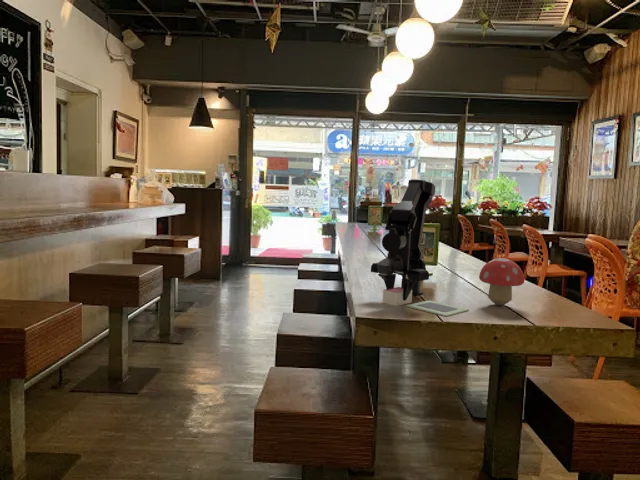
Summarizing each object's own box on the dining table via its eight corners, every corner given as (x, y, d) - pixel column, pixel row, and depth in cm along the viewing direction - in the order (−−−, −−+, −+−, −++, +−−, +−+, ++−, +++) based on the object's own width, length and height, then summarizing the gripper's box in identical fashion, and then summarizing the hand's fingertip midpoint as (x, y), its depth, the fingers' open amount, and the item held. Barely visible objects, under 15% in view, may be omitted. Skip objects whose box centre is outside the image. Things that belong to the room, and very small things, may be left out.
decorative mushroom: (475, 307, 154) (479, 259, 152) (478, 298, 166) (482, 254, 164) (522, 312, 149) (526, 263, 147) (521, 303, 161) (525, 257, 160)
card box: (398, 299, 160) (398, 286, 160) (411, 302, 156) (412, 289, 156) (382, 302, 154) (383, 289, 154) (396, 305, 151) (396, 292, 150)
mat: (429, 301, 159) (429, 299, 159) (468, 310, 148) (468, 308, 148) (406, 306, 150) (406, 304, 150) (446, 316, 140) (446, 314, 140)
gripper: (360, 246, 155) (357, 296, 156) (409, 254, 141) (405, 308, 143) (383, 245, 162) (380, 292, 164) (431, 252, 149) (428, 303, 151)
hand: (397, 298), depth 155 cm, fingers closed on card box, 5 cm apart
